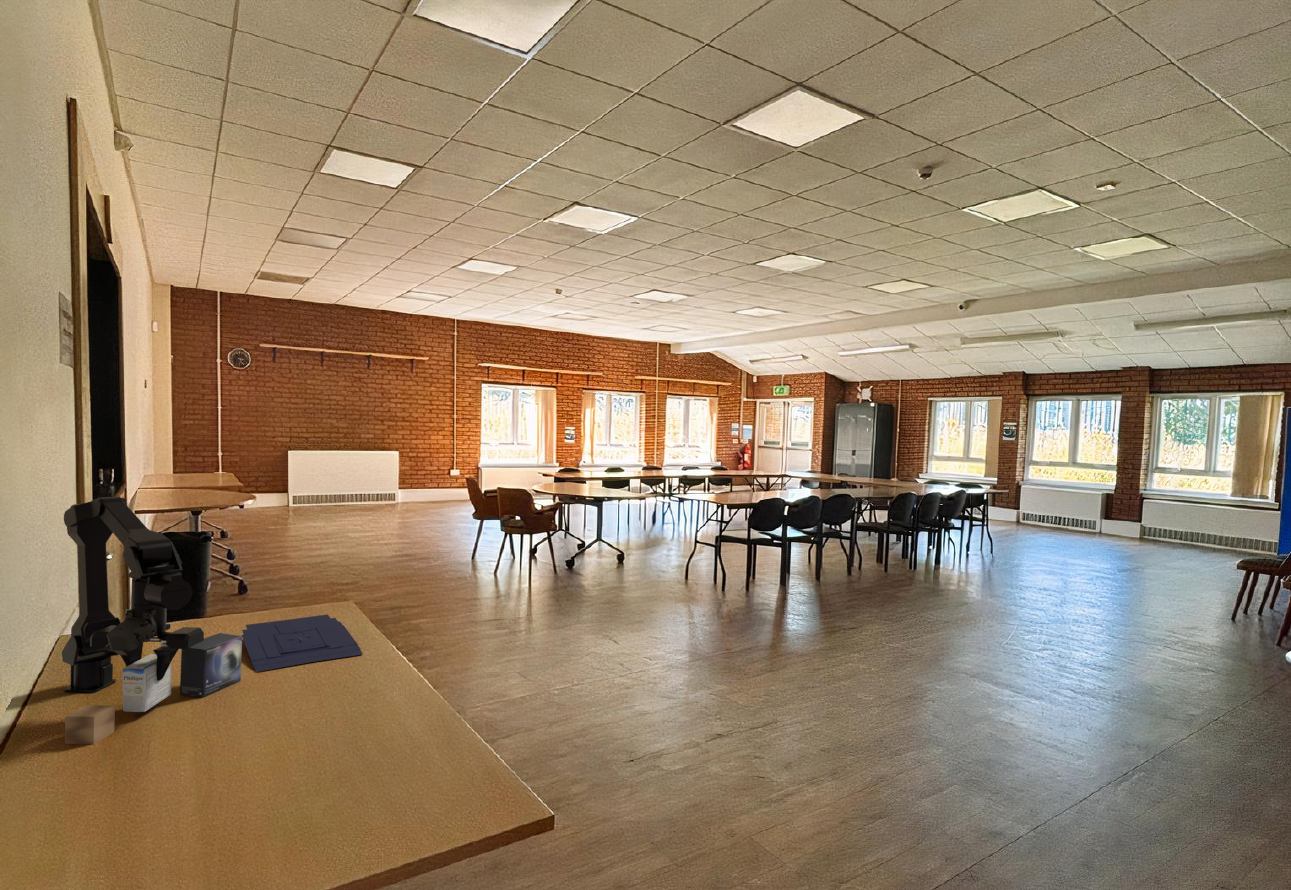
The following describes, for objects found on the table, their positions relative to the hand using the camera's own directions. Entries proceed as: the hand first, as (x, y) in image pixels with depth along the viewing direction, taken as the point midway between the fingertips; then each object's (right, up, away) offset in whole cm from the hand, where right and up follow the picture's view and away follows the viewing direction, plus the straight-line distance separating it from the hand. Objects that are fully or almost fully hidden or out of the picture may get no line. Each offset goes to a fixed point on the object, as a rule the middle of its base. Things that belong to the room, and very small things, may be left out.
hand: (147, 679), depth 138 cm
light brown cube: (-2, -7, -12) cm, 14 cm away
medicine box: (0, -5, 0) cm, 5 cm away
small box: (+4, -7, +13) cm, 15 cm away
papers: (+9, -6, +42) cm, 43 cm away
